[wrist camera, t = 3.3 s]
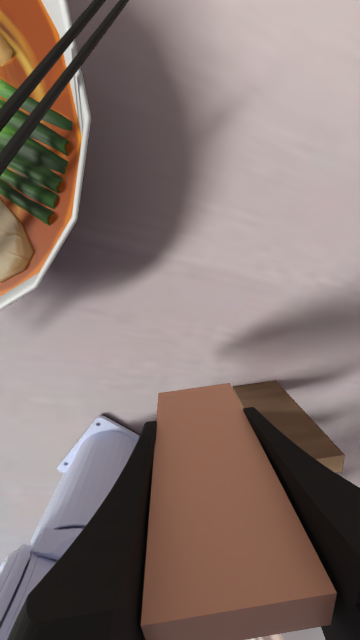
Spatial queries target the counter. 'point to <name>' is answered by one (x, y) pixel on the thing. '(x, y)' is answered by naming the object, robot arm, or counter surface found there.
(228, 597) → the orange tan rectangular block
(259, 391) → the domino
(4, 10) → the ramen bowl
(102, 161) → the counter surface
